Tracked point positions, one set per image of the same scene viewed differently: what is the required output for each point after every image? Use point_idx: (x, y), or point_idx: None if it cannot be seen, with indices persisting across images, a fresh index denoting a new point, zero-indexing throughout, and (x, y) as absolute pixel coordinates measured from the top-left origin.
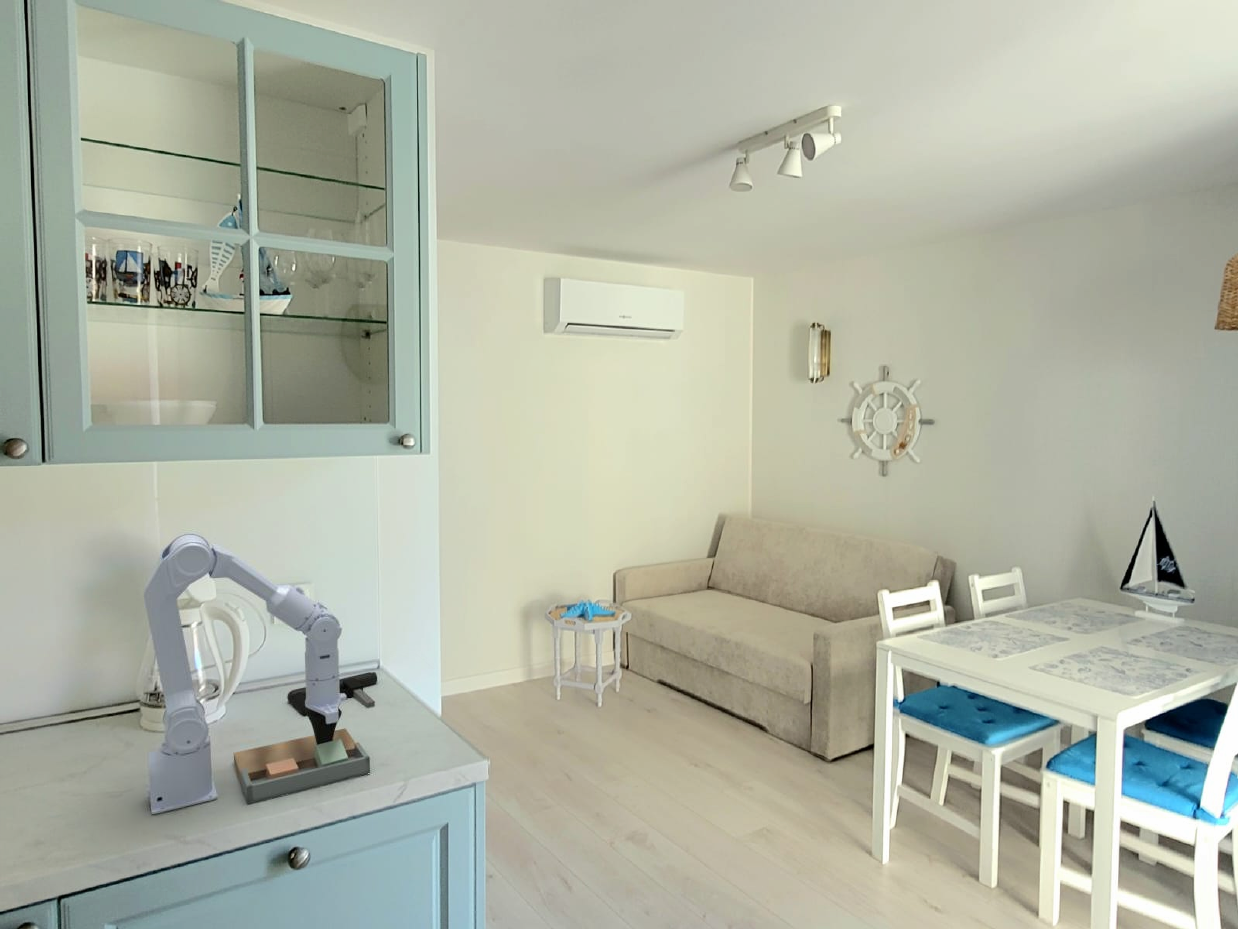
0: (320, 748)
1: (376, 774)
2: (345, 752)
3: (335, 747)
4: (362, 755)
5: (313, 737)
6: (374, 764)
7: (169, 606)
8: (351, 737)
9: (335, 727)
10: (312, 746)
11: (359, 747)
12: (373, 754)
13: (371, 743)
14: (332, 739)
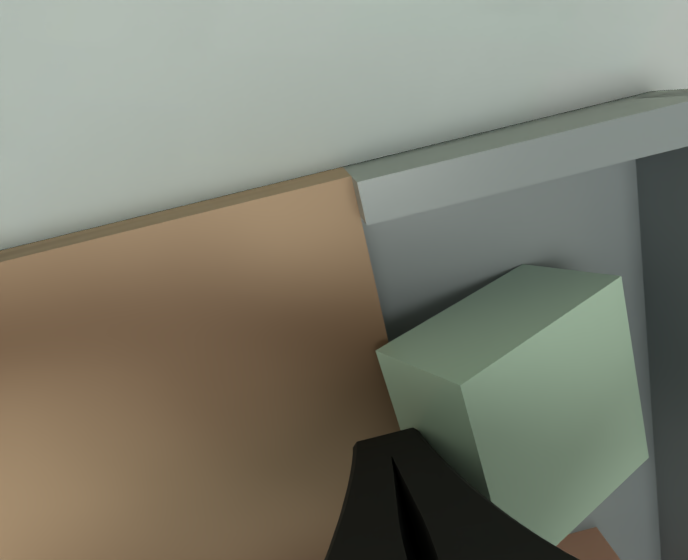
0: (544, 531)
1: (680, 41)
2: (582, 307)
3: (539, 408)
4: (663, 151)
5: (26, 542)
6: (504, 46)
7: None
8: (94, 242)
9: (528, 532)
10: (208, 532)
11: (485, 176)
12: (311, 44)
13: (68, 49)
14: (445, 461)
